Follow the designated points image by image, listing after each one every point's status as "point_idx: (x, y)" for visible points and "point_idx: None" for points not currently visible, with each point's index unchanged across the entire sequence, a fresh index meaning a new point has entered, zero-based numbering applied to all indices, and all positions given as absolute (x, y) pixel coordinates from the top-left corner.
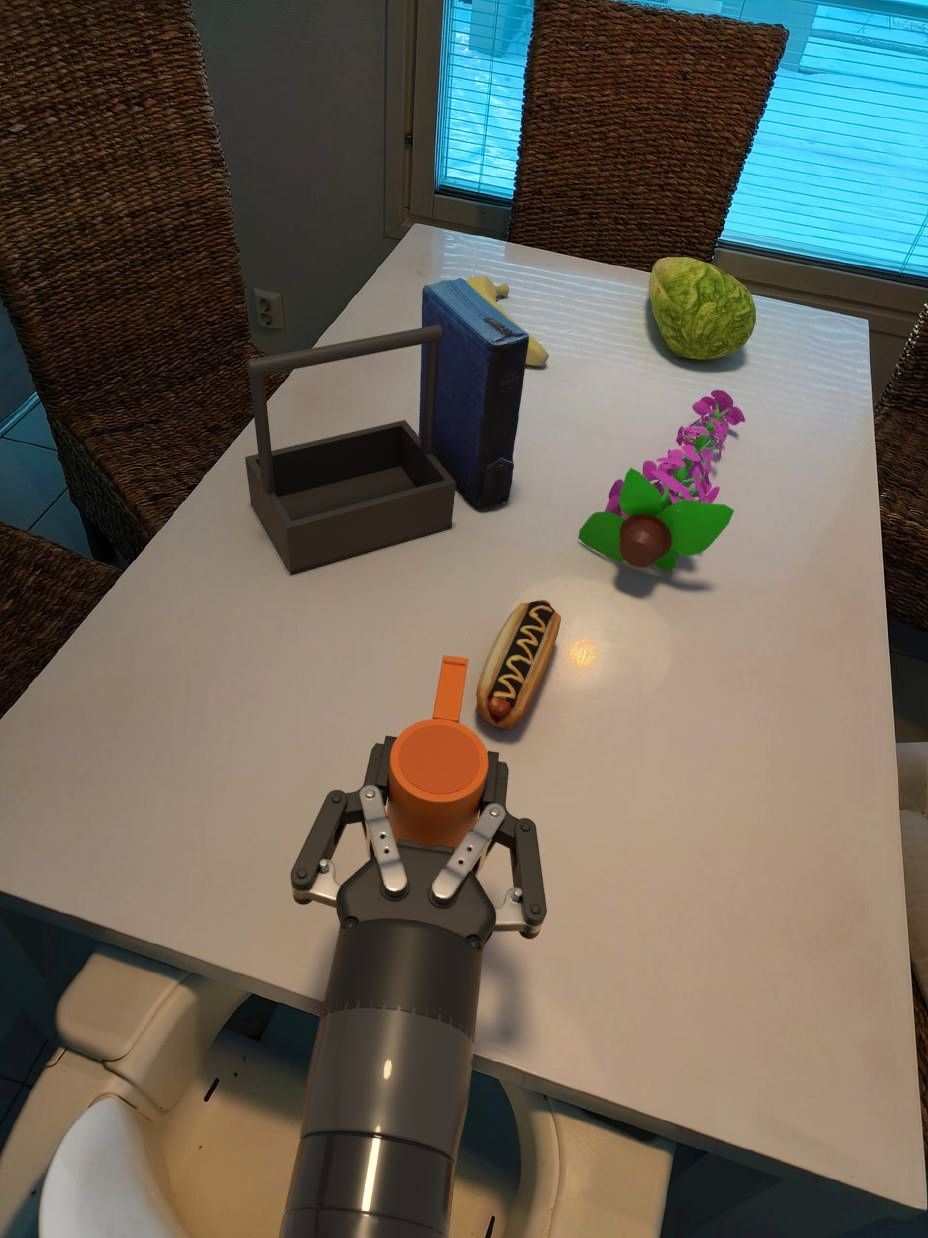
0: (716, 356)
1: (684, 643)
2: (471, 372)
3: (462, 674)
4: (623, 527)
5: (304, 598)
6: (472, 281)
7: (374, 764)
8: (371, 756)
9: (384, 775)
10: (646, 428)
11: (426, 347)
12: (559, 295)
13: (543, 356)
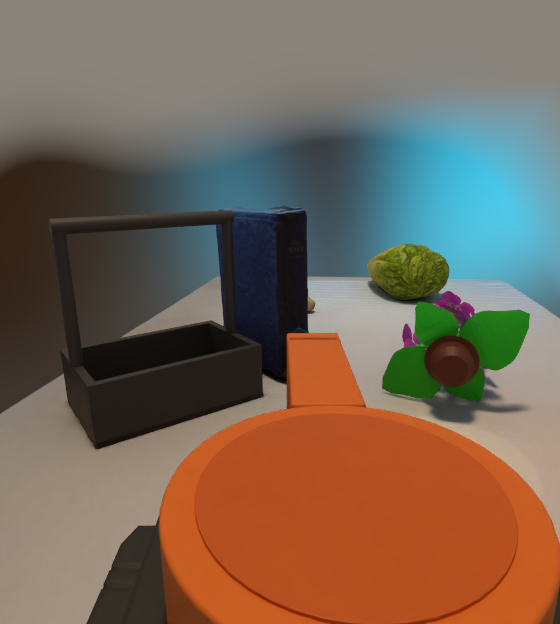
0: (430, 292)
1: (537, 452)
2: (262, 250)
3: (336, 347)
4: (427, 356)
5: (107, 467)
6: None
7: (124, 588)
8: (118, 564)
9: (151, 614)
10: (401, 329)
11: (221, 230)
12: (312, 287)
13: (311, 303)
